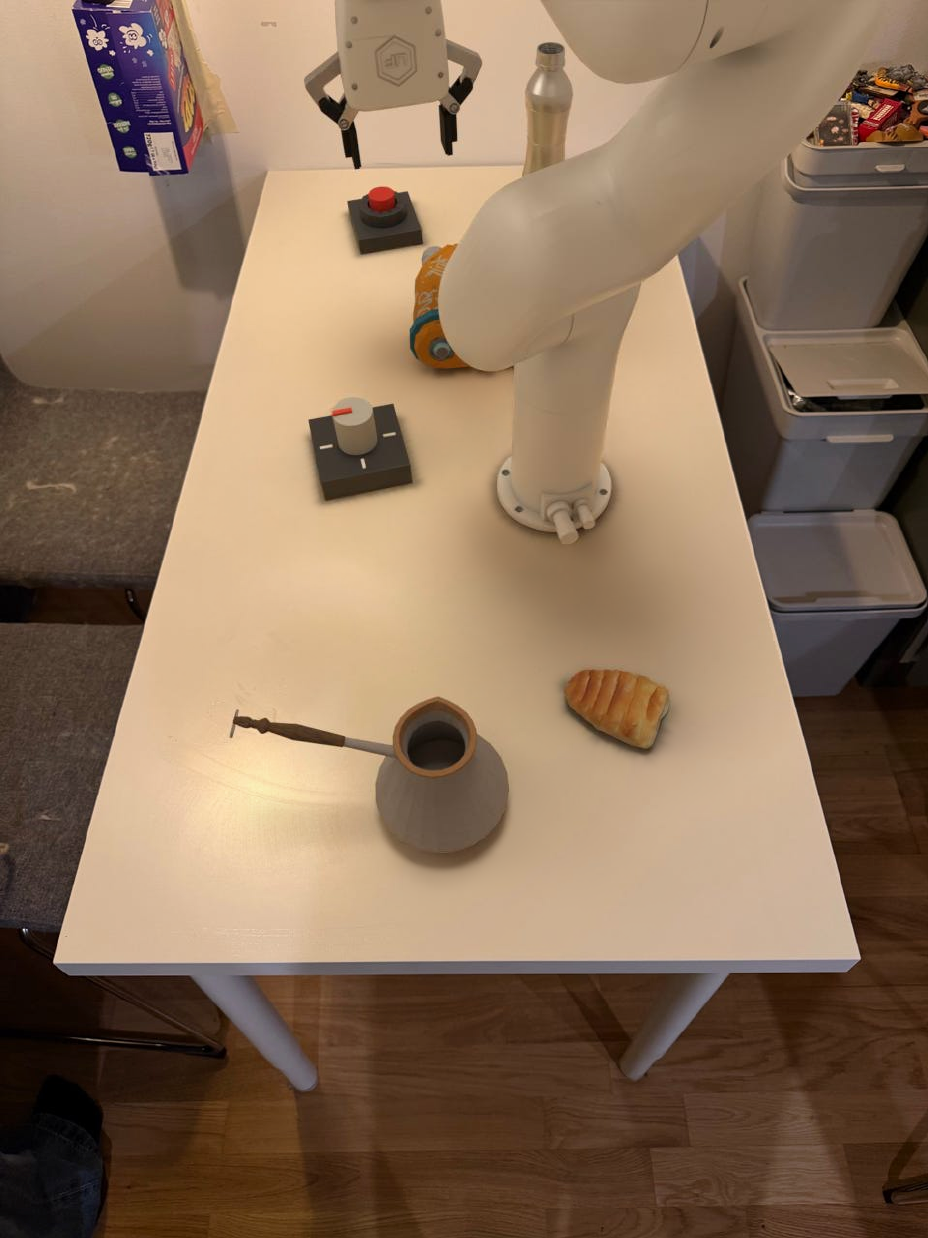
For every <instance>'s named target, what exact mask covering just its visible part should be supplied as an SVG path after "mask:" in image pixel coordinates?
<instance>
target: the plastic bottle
mask: <svg viewBox="0 0 928 1238" xmlns="http://www.w3.org/2000/svg"><path fill="white" fill-rule="evenodd" d="M535 66H536V69H535V71H534V72H533V73H532V75H531V76H530V78H529V80H528V82H527V83H526V87H525V90H524V102H525V103H524V104H525V114H526V133H527V135H526V138H527V140H526V152H525V158H524V164H523V165H524V166H523V169H522V174H521V177H524V176H526V175H528V174H531V173H533V172H536V171H538V170H541V169H544V168H546V167H549V166H551V165H554V164H557V163H560V162H562V161H565V160H566V138H567V136H566V135H567V130H568V124H569V123H568V122H569V118H570V114H571V113H570V112H571V109H572V103H573V100H574V99H573V97H574V89H573V85H572V81H571V80H570V78H569V76H568V74H567V73H566V72H565V70H564V67H565V66H566V47H565V46H564V45H563V44H561V43H560V42H556V41H546V42H542V43H540V44H539V45H537V47H536V57H535Z"/></svg>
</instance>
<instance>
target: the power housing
mask: <svg viewBox="0 0 928 1238" xmlns="http://www.w3.org/2000/svg"><path fill="white" fill-rule="evenodd" d="M393 191H394V196H395V207H394V208H393V209H391V210H389V211H383V212H379V211H374V210H372V209H371V208H370V203H369V196H368V194H369V193H367V194H365V195H363V196H362V197H361V198H355V199H351V200H347V202H346V203H347V210H348V215H349V220H350V222H351V226H352V229H353V233H354V236H355V240H356V243H357V247H358V250H359V253H360V255H365V254H370V253H377V252H382V251H388V250H395V249H400V248H407V247H412V246H413V247H414V246H419V245H424V241H423V229H422V226H421V224H420V220H419V218H418V215H417V212H416V210H415V207H414V205H413V201H412V199H411V197H410V193H409V191H408V190H407V191H401V192H398V191H396V190H393Z"/></svg>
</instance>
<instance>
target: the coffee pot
mask: <svg viewBox="0 0 928 1238" xmlns="http://www.w3.org/2000/svg"><path fill="white" fill-rule="evenodd" d="M239 713H240V709H238V708H236V709H235V712H234V716H233V719H232V723H231V728H230V733H229V739H232V738H233V737H234V734H235V730H236V726H237V727H240V728H244V729H254V730H257V731H258V733H260V735H265V734H266V733H270V734H273V735H277V736H279V737H283V738H285V739H287V740H291V741H294V742H295V741H296V742H304V743H310V744H315V745H322V746H331V747H338V748H348V749H353V750H357V751H362V752H366V753H370V754H375V755H379V756H384V759H383V760H382V762H381V764H380V766H379V768H378V772H377V776H376V780H375V784H374V785H375V803H376V806H377V810H378V812H379V816H380V818H381V820H382V821H383V823H384V824H385V826H386V827H387V829H388V831H390V833H392V834H393V835H394V836H395V837H396V838H397V839H399V840H400V841H401V842H402V843H404V844H406V845H407V846H409V847H411V848H413V849H416V850H418V851H422V852H427V853H432V854H446V853H456V852H459V851H461V850H465V849H468V848H470V847H473V846H475V845H476V844H478V843H479V842H480V841H482V840H483V839H484V838H486V837H488V835H490V833H491V832H492V831H493V830H494V828H495V827H496V826H497V825H498V823H499V822H500V821H501V818H502V816H503V814H504V811H505V810H506V808H507V804H508V798H509V792H510V786H509V776H508V771H507V769H506V766H505V764H504V761H503V759H502V757H501V755H500V754H499V753H498V751H497V750H496V748H495V747H494V746H493V745H492V743H491V742H489V741H487V740H486V739H485V738H484V737H482V736H481V735H480V734H478V732H477V728H476V724H475V723H474V720H473V718H471V716H470V715H469V713H468V712H467V711H466V710H464V708H462V707H460V706H459V705H458V704H456V703H454V702H452V701H450V700H449V699H447V698H443V697H441V696H434V697H430V698H428V699H425V700H423V701H421V702H418V703H416V704H415V705H413V706H411V707H410V708H408V709H407V710H406V711H405V712H404V713H403V714H402V715H401V716H400V718H399V719H398V721H397V722H396V723H395V726H394V730H393V734H392V744H387V743H381V742H376V741H370V740H364V739H358V738H352V737H346V736H345V735H342V734H338V733H335V732H334V733H333V732H330V731H327V730H321V729H319V728H315V727H311V726H307V725H303V724H299V723H288V722H274V721H270V720H269V718H267V717H263V718H260V719H253V718H252V717H250V716H243V715H240V716H239Z"/></svg>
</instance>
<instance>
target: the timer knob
mask: <svg viewBox="0 0 928 1238" xmlns="http://www.w3.org/2000/svg"><path fill="white" fill-rule="evenodd" d="M372 407H373V406H372V404H371V402H370V401H368V400H367V399H366V398H365V399H364V398H362V397H359V396H351V397H347V398H343V399H341V400H339V401H337V403H336V404H335V405H334V406H333V408H332V410H331V415H332V416H333V421H334V425H335V430H336V435H337V439H338V444H339V447H340V448H341V450H342V451H344V452H345V453H347V454H350V455H362V454H366V453H368V452H370V451H371V450H372V449H373V448H374V447H375V446H376V444H377V440H378V439H377V432H376V426H375V420H374V414H373V408H372Z"/></svg>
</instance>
